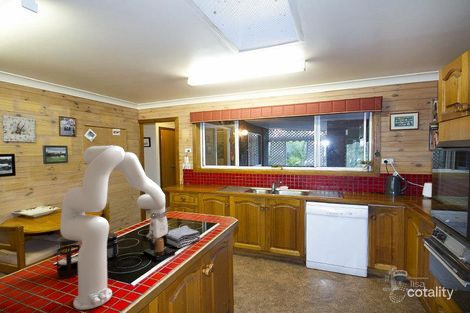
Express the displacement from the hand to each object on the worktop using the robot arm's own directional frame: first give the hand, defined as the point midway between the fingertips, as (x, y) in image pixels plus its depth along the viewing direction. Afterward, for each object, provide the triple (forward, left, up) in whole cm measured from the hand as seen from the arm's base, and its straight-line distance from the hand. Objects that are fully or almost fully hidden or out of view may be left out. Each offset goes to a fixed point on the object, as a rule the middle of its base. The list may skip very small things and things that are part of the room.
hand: (158, 246), depth 131 cm
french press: (+13, +38, -5) cm, 40 cm away
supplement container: (+18, +20, -5) cm, 27 cm away
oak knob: (0, 0, -2) cm, 2 cm away
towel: (+6, -20, -5) cm, 21 cm away
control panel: (0, 0, -5) cm, 5 cm away
